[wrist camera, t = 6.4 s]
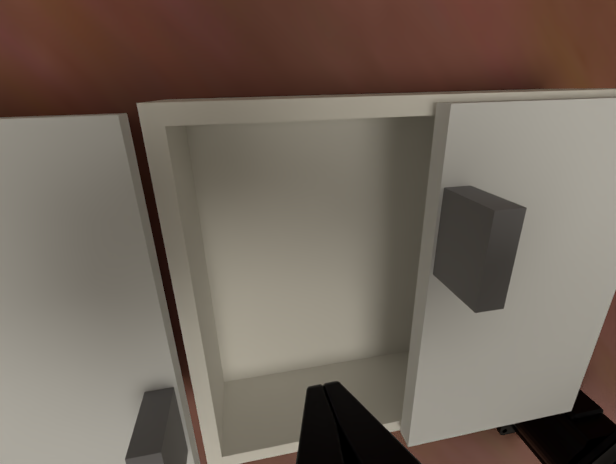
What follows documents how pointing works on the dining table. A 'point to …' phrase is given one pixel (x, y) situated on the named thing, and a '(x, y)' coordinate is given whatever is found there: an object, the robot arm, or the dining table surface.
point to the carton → (295, 249)
